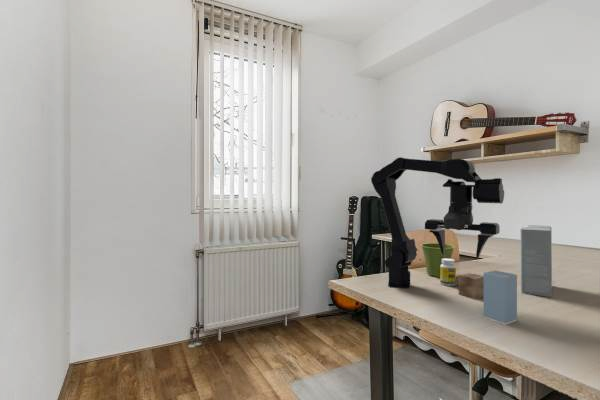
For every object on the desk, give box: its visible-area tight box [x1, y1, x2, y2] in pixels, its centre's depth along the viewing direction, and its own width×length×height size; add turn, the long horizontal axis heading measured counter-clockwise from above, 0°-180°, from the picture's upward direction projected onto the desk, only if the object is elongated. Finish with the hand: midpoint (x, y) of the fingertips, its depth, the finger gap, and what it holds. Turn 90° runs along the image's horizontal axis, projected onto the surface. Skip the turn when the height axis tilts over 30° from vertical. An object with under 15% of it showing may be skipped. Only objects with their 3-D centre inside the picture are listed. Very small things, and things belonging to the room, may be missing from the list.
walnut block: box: [458, 272, 484, 300], centre depth 92 cm, size 5×5×6 cm
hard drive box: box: [519, 224, 553, 298], centre depth 98 cm, size 16×8×20 cm, turn 141°
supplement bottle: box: [439, 258, 457, 287], centre depth 104 cm, size 5×5×8 cm
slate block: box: [483, 270, 518, 326], centre depth 74 cm, size 5×5×11 cm
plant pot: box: [420, 242, 456, 278], centre depth 116 cm, size 12×12×11 cm
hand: (459, 255), depth 90 cm, fingers open, 9 cm apart
